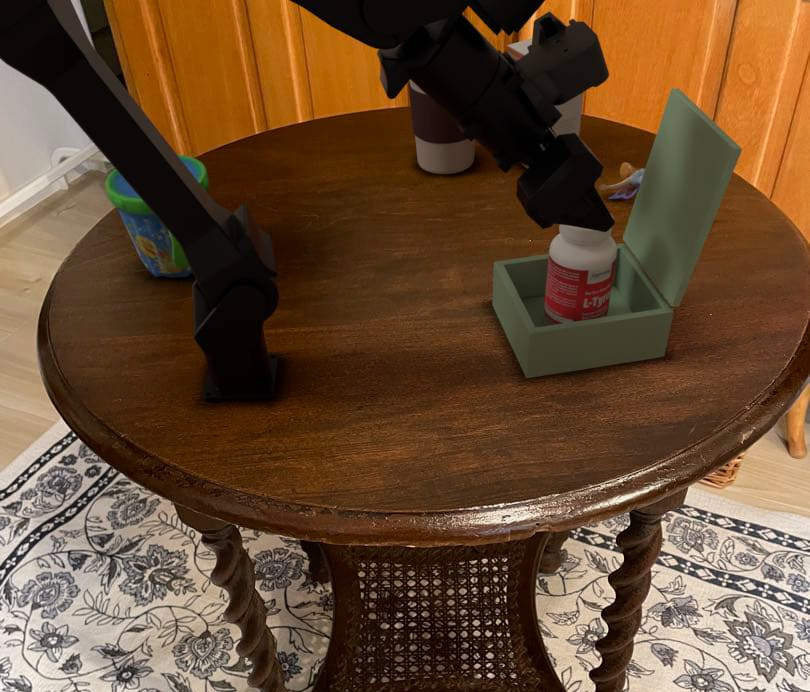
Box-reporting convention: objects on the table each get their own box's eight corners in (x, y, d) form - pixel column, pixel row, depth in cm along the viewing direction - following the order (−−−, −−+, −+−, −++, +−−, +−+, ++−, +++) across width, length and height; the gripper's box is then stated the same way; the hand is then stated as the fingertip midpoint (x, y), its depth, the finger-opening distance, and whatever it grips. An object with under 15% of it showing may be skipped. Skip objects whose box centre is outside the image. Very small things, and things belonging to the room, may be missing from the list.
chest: (526, 378, 81) (529, 333, 77) (492, 305, 89) (493, 261, 85) (664, 357, 82) (674, 311, 78) (618, 286, 90) (625, 242, 87)
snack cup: (236, 289, 93) (217, 199, 86) (139, 309, 92) (110, 219, 84) (214, 222, 103) (195, 136, 96) (126, 239, 102) (99, 153, 94)
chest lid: (733, 148, 68) (742, 148, 68) (671, 87, 76) (679, 88, 76) (671, 307, 78) (679, 307, 78) (622, 238, 86) (629, 238, 86)
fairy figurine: (662, 213, 93) (588, 162, 99) (651, 252, 97) (581, 200, 103) (736, 182, 97) (661, 135, 103) (723, 220, 101) (651, 172, 107)
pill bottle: (583, 349, 82) (597, 241, 74) (530, 327, 85) (538, 221, 77) (618, 319, 85) (635, 213, 77) (565, 298, 88) (576, 194, 80)
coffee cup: (404, 149, 114) (399, 23, 103) (479, 143, 115) (481, 17, 103) (410, 183, 108) (404, 53, 97) (489, 177, 108) (492, 47, 97)
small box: (501, 153, 112) (505, 44, 103) (541, 141, 114) (549, 32, 104) (536, 177, 107) (543, 64, 98) (578, 164, 109) (589, 52, 100)
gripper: (591, 34, 57) (713, 177, 66) (515, -45, 69) (626, 85, 78) (472, 167, 62) (601, 283, 71) (421, 72, 74) (536, 181, 83)
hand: (592, 201), depth 76 cm, fingers open, 9 cm apart
